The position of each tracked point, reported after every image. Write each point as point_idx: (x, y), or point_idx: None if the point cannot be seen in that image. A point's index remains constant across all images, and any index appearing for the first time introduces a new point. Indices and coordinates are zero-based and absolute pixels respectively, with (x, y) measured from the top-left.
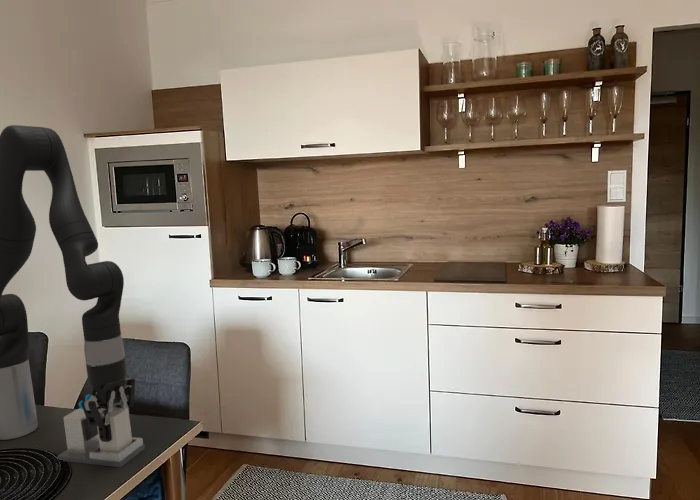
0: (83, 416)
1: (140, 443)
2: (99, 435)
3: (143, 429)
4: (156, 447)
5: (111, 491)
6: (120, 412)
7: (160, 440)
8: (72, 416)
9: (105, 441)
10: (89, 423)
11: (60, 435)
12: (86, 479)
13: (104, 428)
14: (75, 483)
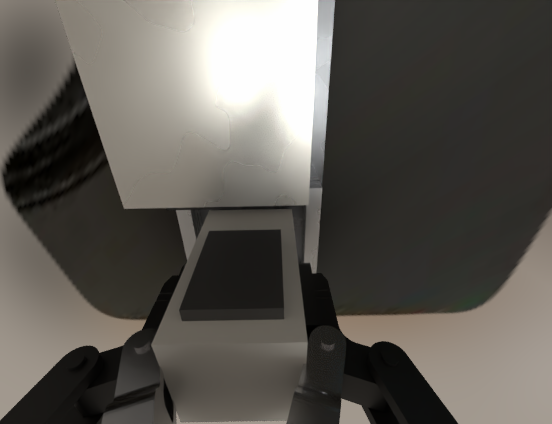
0: (165, 200)
1: None
2: (159, 294)
3: (457, 184)
4: None
5: (110, 316)
6: (243, 418)
7: (367, 281)
8: (115, 88)
9: None
10: (58, 369)
11: None
12: (112, 230)
13: None
14: (80, 215)
